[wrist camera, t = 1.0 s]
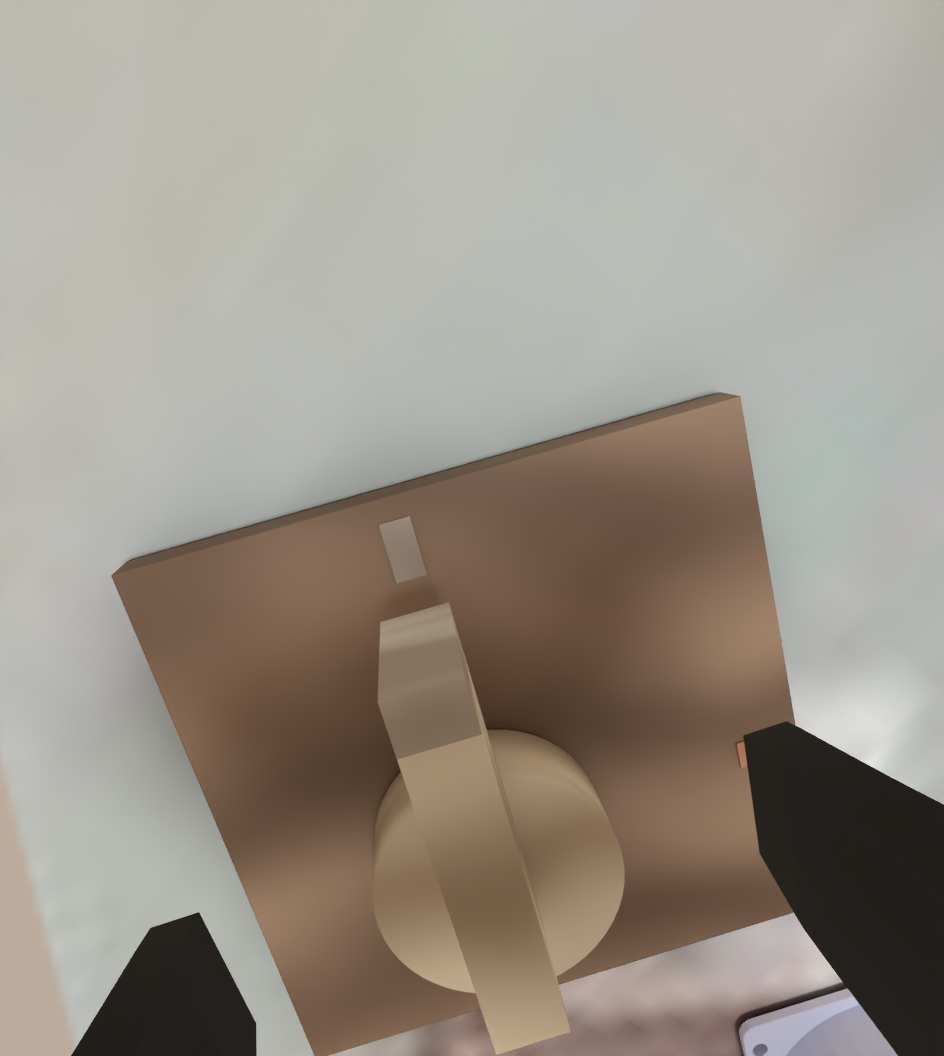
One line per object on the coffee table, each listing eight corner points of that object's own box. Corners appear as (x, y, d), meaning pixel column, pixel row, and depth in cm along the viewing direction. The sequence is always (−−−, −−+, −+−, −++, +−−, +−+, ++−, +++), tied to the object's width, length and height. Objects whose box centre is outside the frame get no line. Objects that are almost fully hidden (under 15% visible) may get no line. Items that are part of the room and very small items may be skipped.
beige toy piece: (621, 890, 22) (703, 1088, 17) (411, 954, 22) (419, 1178, 16) (532, 544, 19) (594, 638, 14) (289, 614, 19) (245, 740, 13)
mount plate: (804, 876, 25) (826, 905, 23) (319, 1024, 24) (315, 1062, 23) (720, 392, 20) (742, 396, 19) (127, 561, 20) (109, 576, 19)
